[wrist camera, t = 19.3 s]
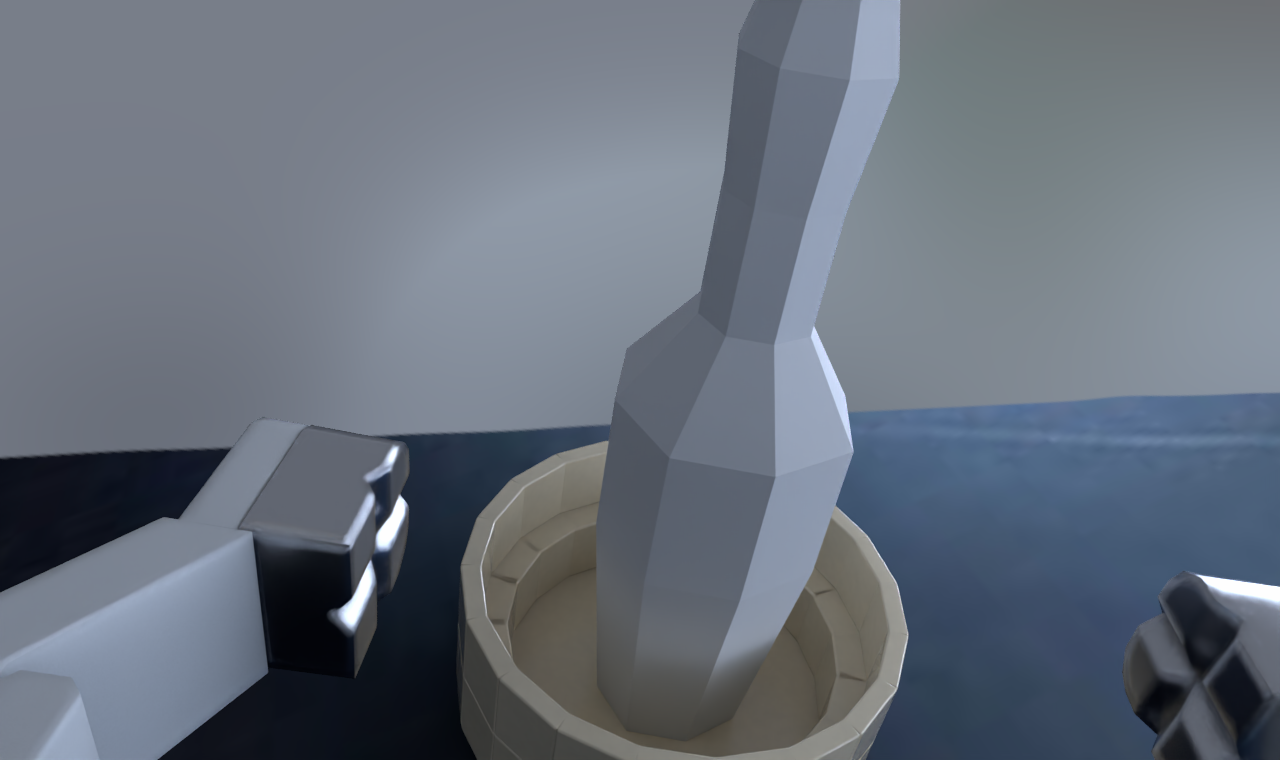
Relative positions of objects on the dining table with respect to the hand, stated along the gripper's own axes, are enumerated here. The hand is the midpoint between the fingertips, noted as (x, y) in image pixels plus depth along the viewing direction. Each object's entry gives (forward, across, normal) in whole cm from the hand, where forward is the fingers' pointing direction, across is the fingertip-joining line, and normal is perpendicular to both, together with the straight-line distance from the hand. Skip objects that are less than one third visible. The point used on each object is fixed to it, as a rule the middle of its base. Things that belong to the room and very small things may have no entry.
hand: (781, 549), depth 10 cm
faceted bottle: (+12, -1, +18) cm, 22 cm away
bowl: (+12, -1, +18) cm, 22 cm away
